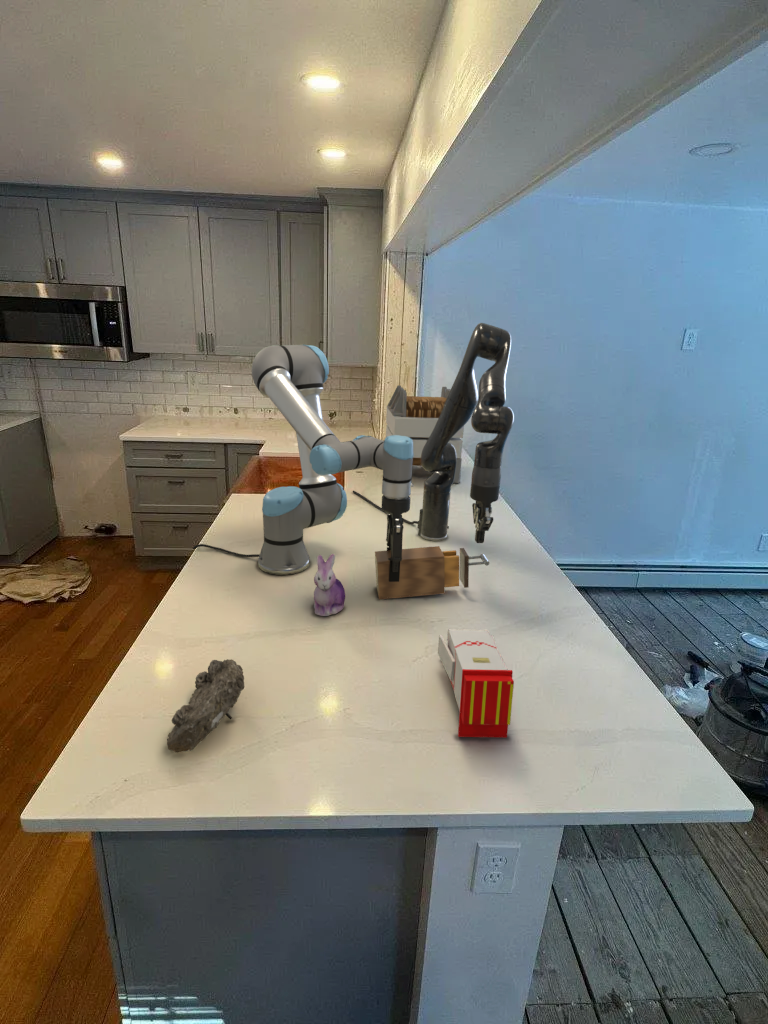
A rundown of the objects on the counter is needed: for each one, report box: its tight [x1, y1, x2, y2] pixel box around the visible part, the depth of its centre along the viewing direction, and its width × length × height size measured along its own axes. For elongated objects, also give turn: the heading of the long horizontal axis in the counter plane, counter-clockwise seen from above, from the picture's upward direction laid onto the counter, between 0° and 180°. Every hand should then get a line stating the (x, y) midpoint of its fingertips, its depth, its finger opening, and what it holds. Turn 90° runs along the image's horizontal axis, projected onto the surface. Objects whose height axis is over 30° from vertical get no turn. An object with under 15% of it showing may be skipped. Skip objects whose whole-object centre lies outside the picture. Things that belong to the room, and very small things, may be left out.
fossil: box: [166, 658, 245, 754], centre depth 106 cm, size 22×10×15 cm
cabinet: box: [374, 545, 445, 600], centre depth 156 cm, size 18×7×11 cm, turn 96°
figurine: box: [313, 553, 346, 617], centre depth 146 cm, size 9×10×15 cm
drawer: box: [441, 547, 490, 589], centre depth 157 cm, size 23×6×10 cm, turn 96°
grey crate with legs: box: [385, 384, 465, 484], centre depth 268 cm, size 34×33×41 cm
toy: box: [437, 628, 515, 738], centre depth 117 cm, size 12×13×30 cm
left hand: (392, 574), depth 156 cm, fingers closed on cabinet, 7 cm apart
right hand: (479, 542), depth 155 cm, fingers closed
